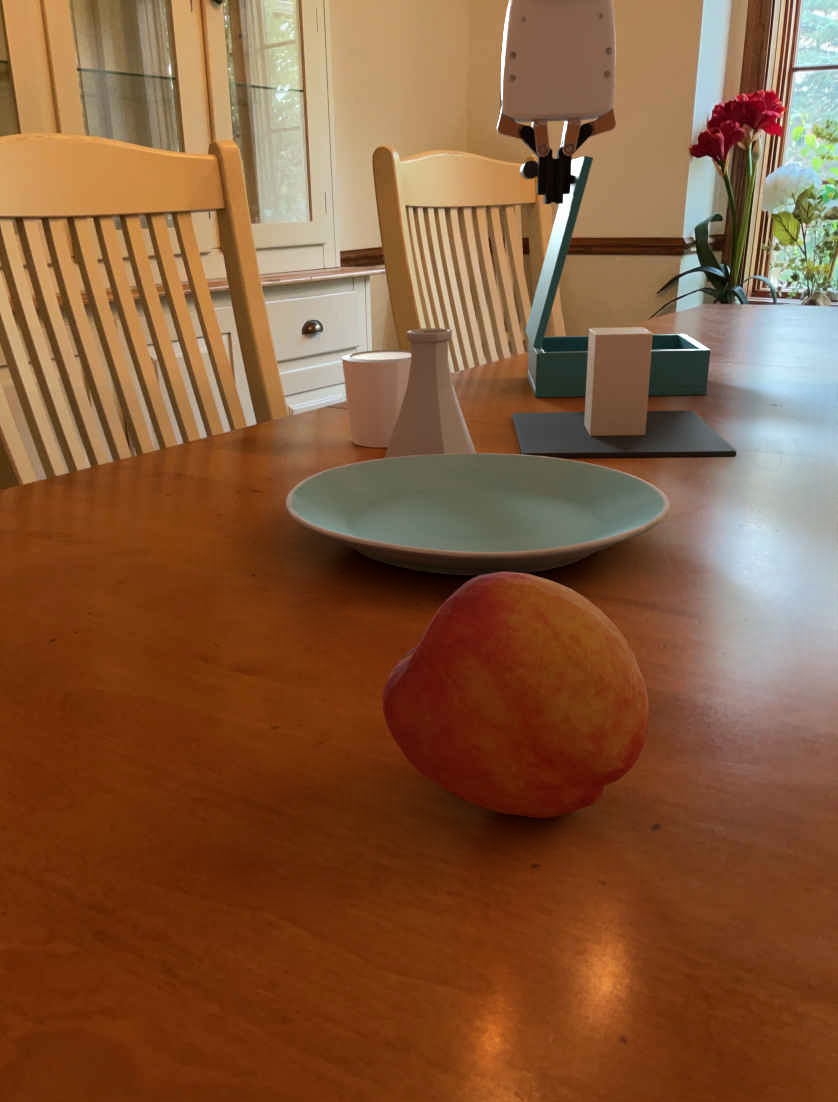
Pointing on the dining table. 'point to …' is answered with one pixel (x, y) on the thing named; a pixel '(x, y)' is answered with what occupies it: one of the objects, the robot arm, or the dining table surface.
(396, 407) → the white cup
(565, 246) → the lunchbox lid
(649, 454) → the mat
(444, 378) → the flask
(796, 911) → the dining table surface
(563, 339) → the box
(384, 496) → the plate
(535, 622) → the fruit
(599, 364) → the beige rectangular block
